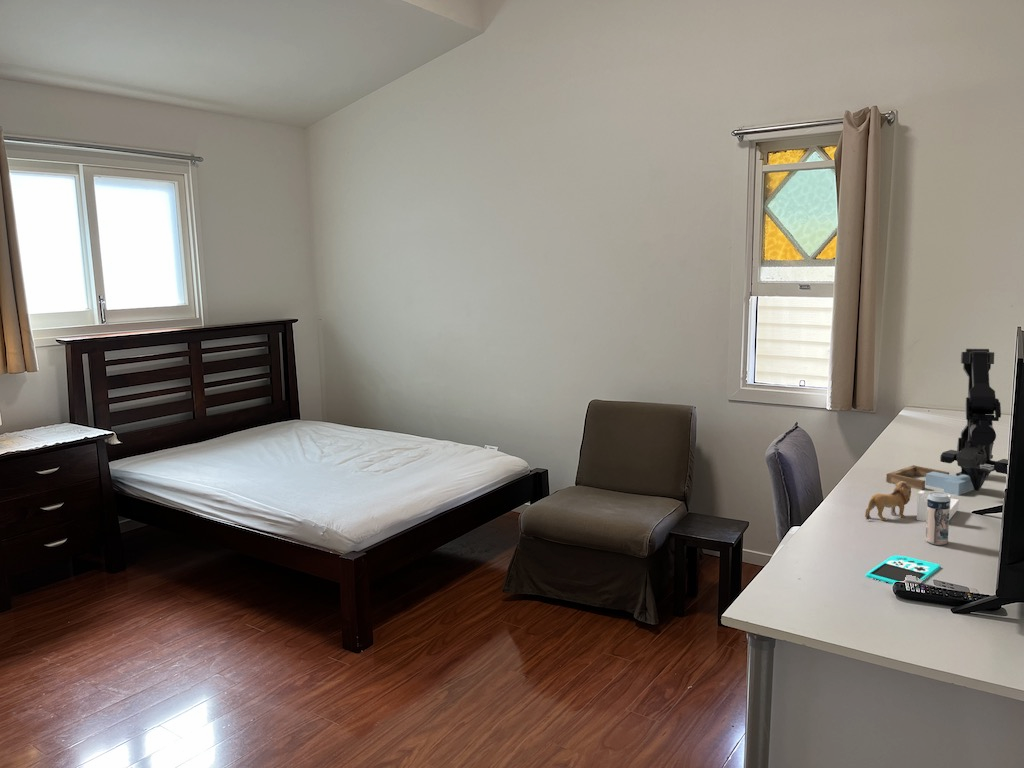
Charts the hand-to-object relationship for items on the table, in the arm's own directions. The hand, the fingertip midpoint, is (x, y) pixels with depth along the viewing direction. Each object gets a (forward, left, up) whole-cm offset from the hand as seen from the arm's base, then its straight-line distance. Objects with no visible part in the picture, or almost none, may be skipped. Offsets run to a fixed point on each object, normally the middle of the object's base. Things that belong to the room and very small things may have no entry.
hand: (977, 490), depth 215 cm
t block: (0, -8, -1) cm, 8 cm away
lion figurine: (+36, -5, -1) cm, 37 cm away
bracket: (+26, +3, -2) cm, 26 cm away
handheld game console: (+68, +17, -2) cm, 70 cm away
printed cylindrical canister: (+45, +12, -1) cm, 47 cm away
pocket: (0, -17, -1) cm, 17 cm away
